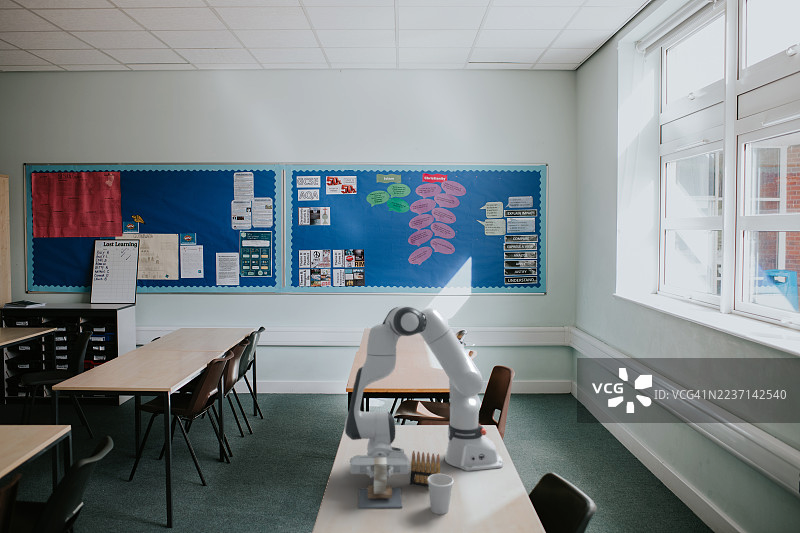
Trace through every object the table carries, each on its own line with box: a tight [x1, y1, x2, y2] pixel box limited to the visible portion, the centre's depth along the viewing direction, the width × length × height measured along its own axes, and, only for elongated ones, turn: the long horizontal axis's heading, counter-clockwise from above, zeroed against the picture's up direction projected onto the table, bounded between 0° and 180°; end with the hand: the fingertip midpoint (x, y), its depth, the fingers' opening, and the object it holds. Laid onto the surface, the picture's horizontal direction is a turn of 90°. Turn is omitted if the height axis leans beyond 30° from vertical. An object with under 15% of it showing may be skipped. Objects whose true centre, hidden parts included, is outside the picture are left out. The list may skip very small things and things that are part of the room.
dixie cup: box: [427, 473, 454, 515], centre depth 166 cm, size 8×8×10 cm
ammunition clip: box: [409, 450, 441, 488], centre depth 181 cm, size 11×2×12 cm, turn 75°
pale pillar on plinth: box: [367, 457, 393, 498], centre depth 171 cm, size 8×6×11 cm
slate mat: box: [358, 487, 403, 510], centre depth 172 cm, size 14×12×1 cm
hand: (380, 475), depth 171 cm, fingers closed on pale pillar on plinth, 4 cm apart
